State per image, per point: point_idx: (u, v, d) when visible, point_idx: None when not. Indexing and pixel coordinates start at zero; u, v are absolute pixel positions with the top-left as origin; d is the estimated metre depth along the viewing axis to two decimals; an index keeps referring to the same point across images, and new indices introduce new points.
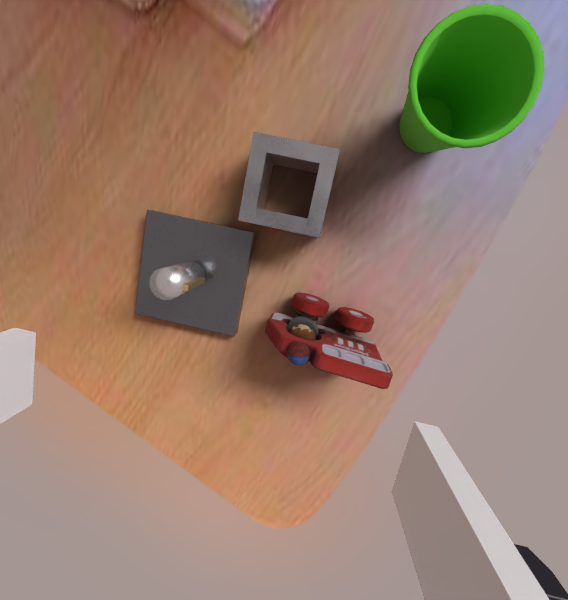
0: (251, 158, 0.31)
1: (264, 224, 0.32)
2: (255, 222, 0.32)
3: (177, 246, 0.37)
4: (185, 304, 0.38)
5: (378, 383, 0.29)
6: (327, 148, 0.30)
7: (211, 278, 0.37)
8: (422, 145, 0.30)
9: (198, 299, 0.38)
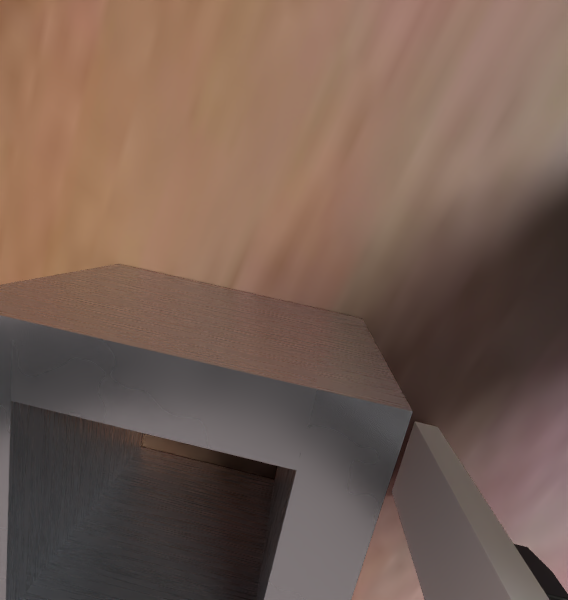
0: None
1: None
2: None
3: None
4: None
5: None
6: (338, 403, 0.05)
7: None
8: None
9: None
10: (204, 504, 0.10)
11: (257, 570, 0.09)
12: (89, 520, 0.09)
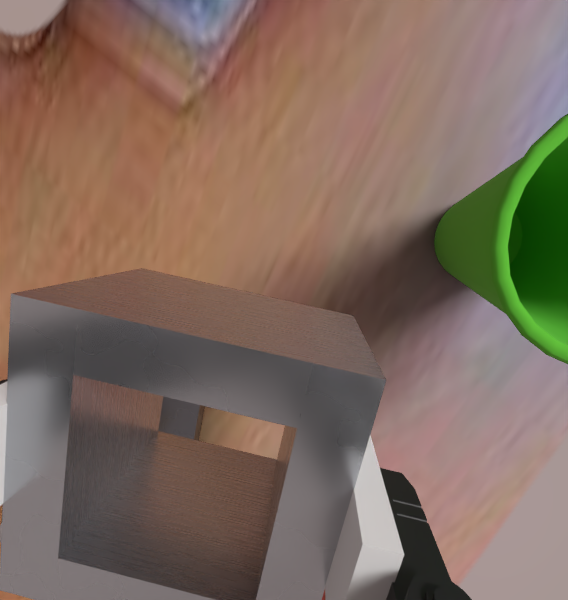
0: (15, 392, 0.07)
1: None
2: None
3: None
4: None
5: None
6: (330, 374, 0.07)
7: None
8: None
9: None
10: (216, 478, 0.12)
11: (263, 529, 0.10)
12: (118, 488, 0.11)
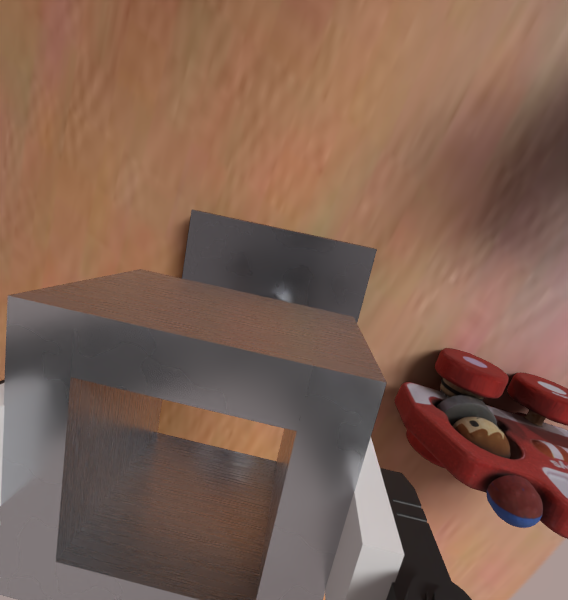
0: (12, 395, 0.07)
1: None
2: None
3: (241, 271, 0.22)
4: None
5: None
6: (329, 377, 0.07)
7: None
8: None
9: None
10: (216, 480, 0.12)
11: (262, 532, 0.10)
12: (117, 490, 0.11)
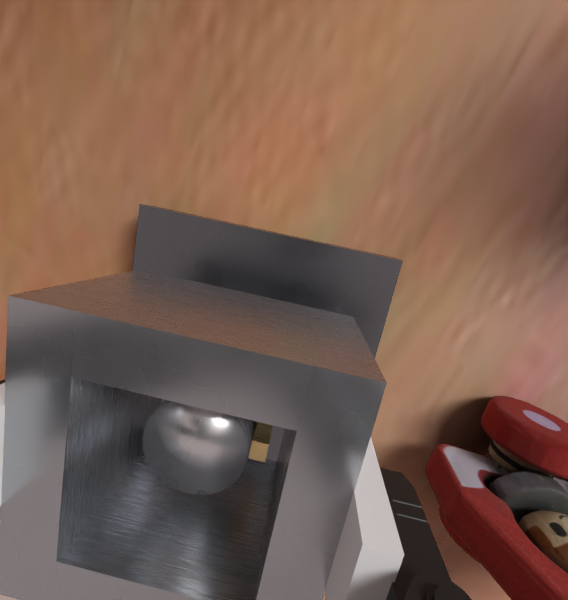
0: (13, 395, 0.07)
1: None
2: None
3: None
4: None
5: None
6: (329, 377, 0.07)
7: None
8: None
9: None
10: None
11: (262, 532, 0.10)
12: (117, 490, 0.11)
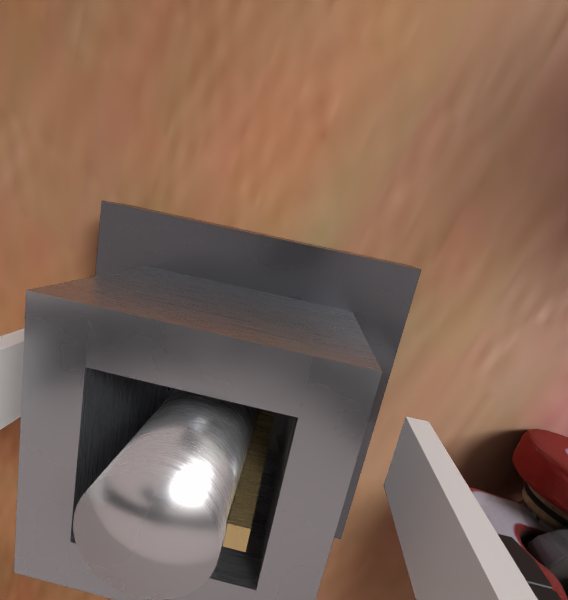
0: (30, 384, 0.08)
1: (104, 593, 0.09)
2: (73, 584, 0.09)
3: None
4: None
5: None
6: (329, 366, 0.07)
7: None
8: None
9: None
10: None
11: (265, 517, 0.11)
12: None
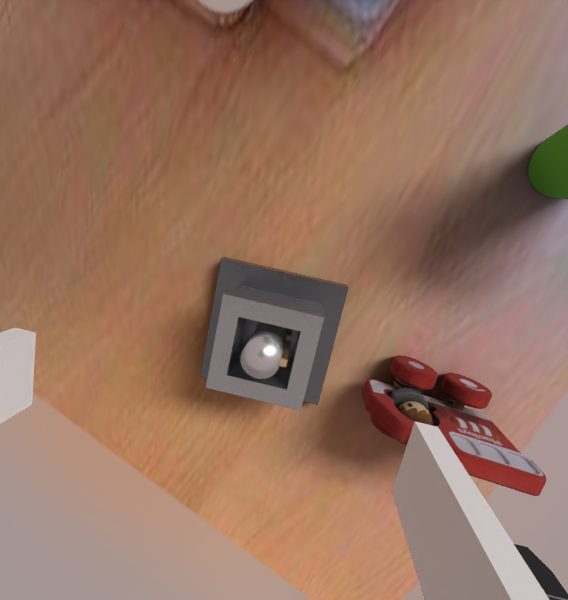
0: (220, 322, 0.26)
1: (236, 393, 0.27)
2: (225, 391, 0.27)
3: None
4: None
5: (531, 490, 0.23)
6: (309, 316, 0.26)
7: (294, 338, 0.32)
8: None
9: None
10: None
11: (287, 378, 0.29)
12: (235, 364, 0.29)
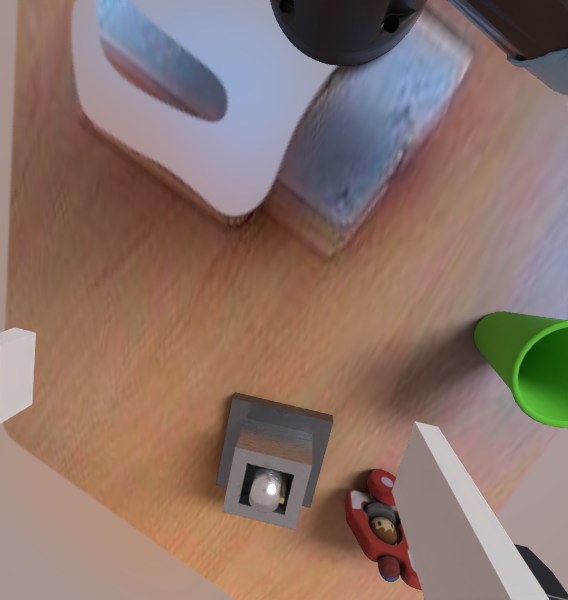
0: (233, 466, 0.34)
1: (245, 516, 0.35)
2: (237, 514, 0.36)
3: None
4: None
5: None
6: (301, 464, 0.34)
7: None
8: None
9: None
10: None
11: (285, 498, 0.37)
12: (244, 486, 0.38)
